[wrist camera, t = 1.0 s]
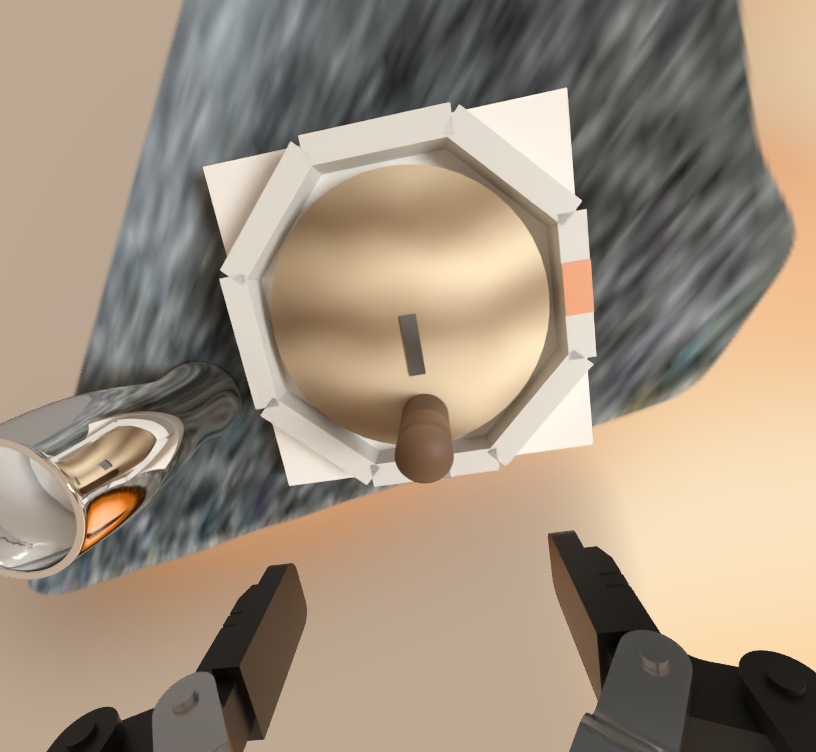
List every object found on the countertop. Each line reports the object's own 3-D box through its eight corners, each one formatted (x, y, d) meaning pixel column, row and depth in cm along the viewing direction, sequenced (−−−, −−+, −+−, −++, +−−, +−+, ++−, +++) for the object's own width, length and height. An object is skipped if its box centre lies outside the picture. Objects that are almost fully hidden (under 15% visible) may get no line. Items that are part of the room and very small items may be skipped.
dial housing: (218, 174, 27) (180, 156, 23) (556, 101, 25) (581, 67, 21) (297, 472, 32) (278, 503, 28) (582, 433, 30) (607, 459, 26)
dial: (249, 201, 25) (176, 172, 18) (528, 143, 23) (572, 85, 16) (312, 452, 29) (273, 512, 22) (554, 417, 27) (599, 469, 20)
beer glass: (220, 341, 30) (22, 406, 15) (264, 424, 31) (120, 556, 17) (142, 375, 31) (-116, 467, 16) (187, 454, 32) (-11, 603, 18)
